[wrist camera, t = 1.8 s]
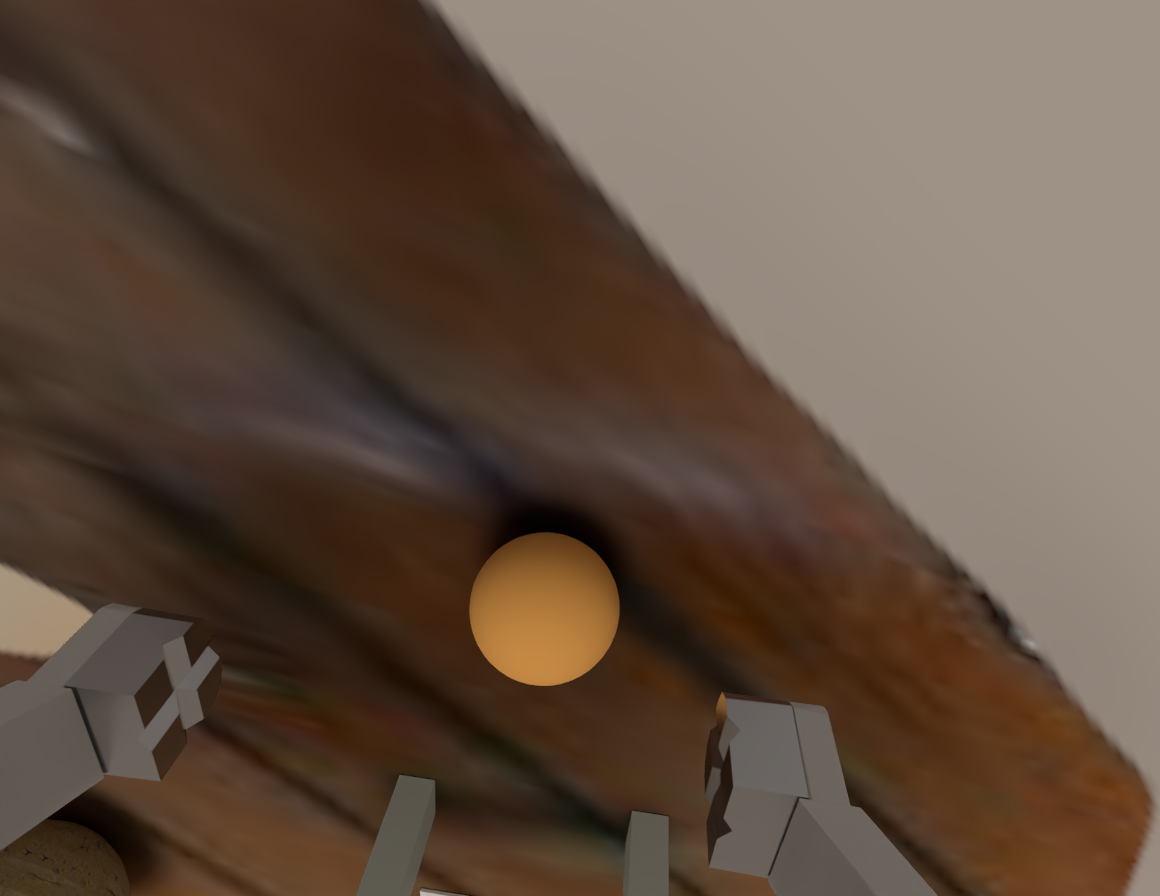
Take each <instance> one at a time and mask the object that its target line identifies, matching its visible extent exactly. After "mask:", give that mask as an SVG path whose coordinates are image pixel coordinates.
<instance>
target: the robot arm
mask: <svg viewBox="0 0 1160 896" xmlns="http://www.w3.org/2000/svg"><path fill="white" fill-rule="evenodd" d="M214 637H215V635H214V632H213V628H212V625H211V621H210V620H206V619H203V618H199V617H193V616H187V615H181V614H175V613H170V612H164V611H158V610H152V609H146V608H138V607H132V606H126V605H120V604H114V603H111V604H109V605H107V606H104V607H102V608H100V609H99V610H98V611H97V612H96V613H95V614H94V615H93V616H92V617H91V618H90V619H89V620H88V621H87V622H86V623H85V624H84V625H83V626H82V627H81V628H80V629H79V630H78V631H77V632H76V633H75V634H74V635H73V636H72V637H71V638H70V639H69V640H68V641H67V642H66V643H65V644H64V645H63V646H62V647H61V648H60V649H59V650H58V651H57V652H56V653H55V654H54V655H53V656H52V657H51V658H50V659H49V660H48V661H47V662H46V663H45V664H44V665H43V666H42V667H41V668H40V669H39V670H38V671H37V672H36V673H35V674H34V675H33V676H32V677H31V678H30V679H29V680H28V681H27V682H26V681H18V680H17V681H14V682H12V683H10V684H8V685H6V686H4V687H1V688H0V850H2V849H3V848H5V847H6V846H8V845H9V844H10V843H12V842H13V841H15V840H16V839H18V838H19V837H20V836H22V835H23V834H25V833H26V832H28V831H29V830H30V829H32V828H33V827H35V826H36V825H38V824H39V823H40V822H42V821H43V820H45V819H46V818H48V817H49V816H50V815H52V814H53V813H55V812H56V811H58V810H59V809H60V808H62V807H63V806H65V805H66V804H68V803H69V802H70V801H72V800H73V799H75V798H76V797H78V796H79V795H80V794H82V793H83V792H85V791H86V790H87V789H89V788H90V787H92V786H93V785H95V784H96V783H97V782H99V781H100V780H102V779H103V778H104V774H106V775H114V776H122V777H130V778H138V779H146V780H154V781H161V780H162V779H163V777H164V776H165V775H166V773H167V772H168V770H169V769H170V767H171V766H172V764H173V763H174V761H175V760H176V759H177V757H178V756H179V754H180V753H181V751H182V750H183V748H184V747H185V745H186V744H187V738H186V729H187V728H189V727H190V726H192V725H194V724H195V723H197V722H199V721H201V720H202V719H204V718H205V716H206V714H207V713H208V711H209V710H210V708H211V707H212V705H213V704H214V702H215V699H216V696H217V693H218V690H219V688H220V685H221V675H222V668H221V663H220V658H219V657H218V656H217V655H216V654H215V653H214V652H213V651H212V650H211V649H210V647H209V646H208V645H209V644H210V642H211V641H212V640H213V638H214ZM716 719H717V726H716V727H714V728H713V729H711V731H710V735H709V739H708V744H707V750H706V759H705V795H706V796H707V798H708V799H709V801H710V802H711V803H712V804H711V808H710V812H709V815H708V819H707V823H706V824H707V842H708V859H709V867H710V868H716V869H721V870H727V871H732V872H737V873H743V874H748V875H754V876H759V877H764V878H769V879H768V883H769V884H770V886H771V888H772V889H773V891H774V893H775V894H776V896H937V894H936V893H935V892H934V891H933V890H932V889H931V888H930V886H929V885H928V884H927V883H926V882H925V881H924V880H923V878H922V877H921V876H920V875H919V874H918V873H917V872H916V870H915V869H914V868H913V867H912V866H911V865H910V864H909V862H908V861H907V860H906V859H905V858H904V857H903V856H902V854H901V853H900V852H899V851H898V850H897V849H896V848H895V846H894V845H893V844H892V843H891V842H890V841H889V840H888V838H887V837H886V836H885V835H884V834H883V833H882V832H881V830H880V829H879V828H878V827H877V826H876V825H875V824H874V822H873V821H872V820H871V819H870V818H869V817H868V816H867V814H866V813H865V812H864V811H863V810H862V809H861V808H859V807H853V806H850V803H849V799H848V795H847V790H846V786H845V782H844V778H843V774H842V770H841V766H840V761H839V757H838V753H837V749H836V745H835V741H834V736H833V732H832V728H831V724H830V720H829V716H828V712H827V711H826V709H825V708H824V707H823V706H817V705H809V704H802V703H795V702H789V703H788V702H787V701H782V700H775V699H767V698H760V697H752V696H745V695H737V694H729V693H722V694H721V696H720V698H719V701H718V704H717V708H716Z"/></svg>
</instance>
